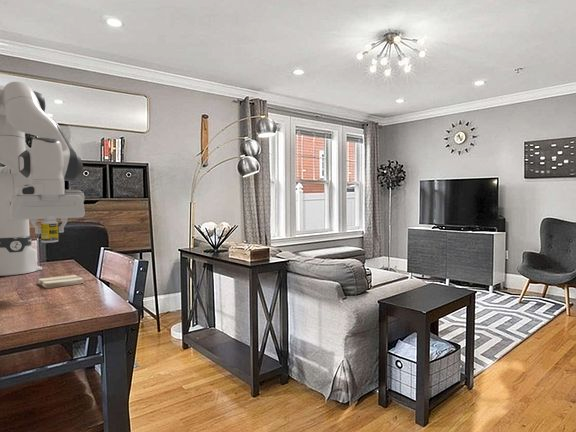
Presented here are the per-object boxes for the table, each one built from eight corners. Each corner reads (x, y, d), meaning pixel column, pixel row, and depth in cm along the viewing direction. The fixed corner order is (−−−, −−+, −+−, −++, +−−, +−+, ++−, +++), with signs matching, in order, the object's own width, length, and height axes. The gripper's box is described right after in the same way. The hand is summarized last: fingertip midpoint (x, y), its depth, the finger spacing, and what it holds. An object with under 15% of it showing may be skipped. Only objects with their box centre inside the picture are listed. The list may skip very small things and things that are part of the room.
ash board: (38, 283, 135) (38, 278, 135) (73, 278, 143) (73, 274, 142) (46, 288, 126) (46, 284, 126) (83, 283, 134) (83, 278, 134)
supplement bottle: (50, 243, 122) (49, 216, 122) (37, 242, 123) (36, 215, 123) (62, 241, 127) (61, 215, 126) (49, 240, 128) (48, 214, 127)
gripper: (81, 189, 133) (82, 230, 134) (8, 189, 120) (9, 234, 120) (87, 189, 129) (88, 231, 130) (11, 189, 115) (13, 236, 116)
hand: (49, 233), depth 125 cm, fingers closed on supplement bottle, 5 cm apart
